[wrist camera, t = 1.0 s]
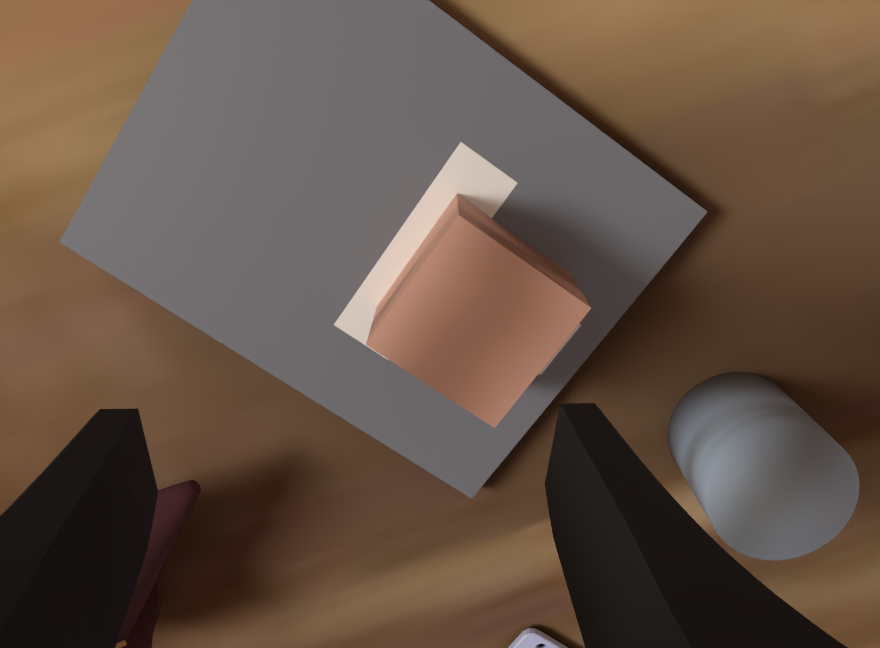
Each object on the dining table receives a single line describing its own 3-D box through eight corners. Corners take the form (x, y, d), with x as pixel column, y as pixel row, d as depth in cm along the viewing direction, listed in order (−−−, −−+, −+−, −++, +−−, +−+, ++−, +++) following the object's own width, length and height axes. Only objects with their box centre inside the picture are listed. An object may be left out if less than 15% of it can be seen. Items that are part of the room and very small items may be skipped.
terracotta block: (570, 274, 27) (591, 308, 23) (488, 379, 28) (494, 428, 25) (456, 193, 26) (458, 215, 22) (376, 306, 27) (365, 345, 24)
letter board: (698, 206, 27) (707, 211, 26) (470, 485, 31) (471, 499, 30) (269, -119, 24) (261, -128, 23) (72, 236, 28) (59, 242, 27)
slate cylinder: (820, 416, 30) (891, 481, 25) (734, 505, 31) (786, 584, 27) (726, 347, 29) (780, 402, 24) (641, 443, 30) (678, 512, 26)
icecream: (56, 439, 23) (-175, 670, 28) (209, 623, 23) (-47, 824, 28) (182, 380, 30) (-21, 575, 35) (303, 523, 30) (83, 699, 34)
